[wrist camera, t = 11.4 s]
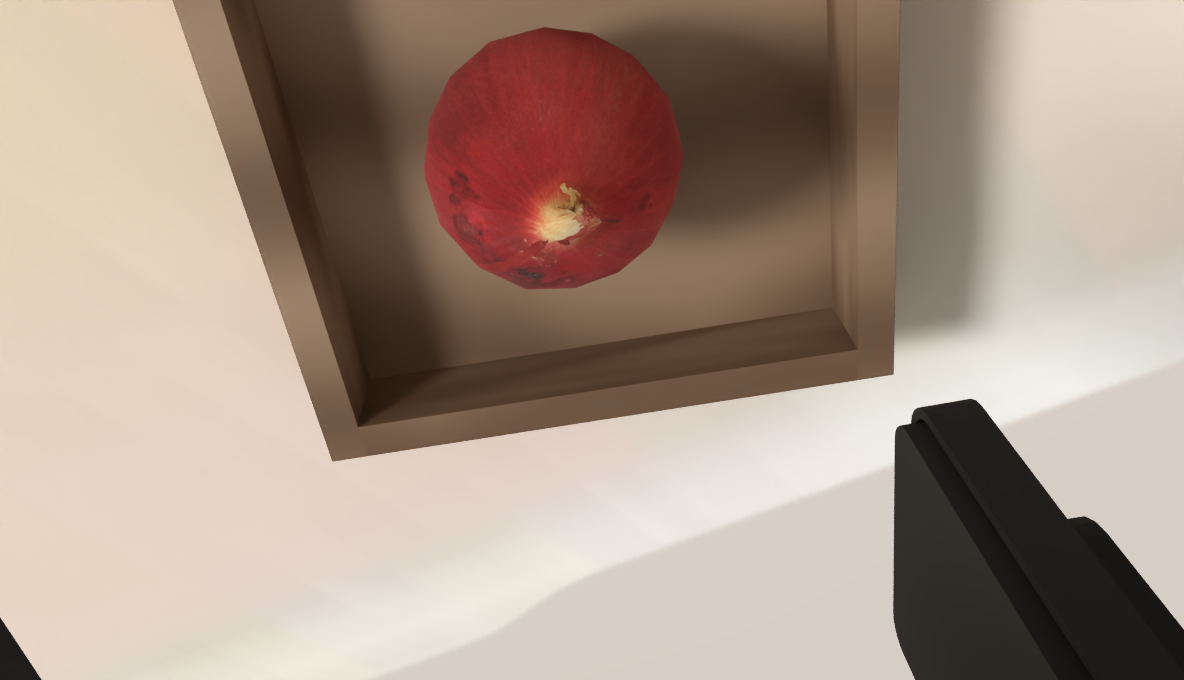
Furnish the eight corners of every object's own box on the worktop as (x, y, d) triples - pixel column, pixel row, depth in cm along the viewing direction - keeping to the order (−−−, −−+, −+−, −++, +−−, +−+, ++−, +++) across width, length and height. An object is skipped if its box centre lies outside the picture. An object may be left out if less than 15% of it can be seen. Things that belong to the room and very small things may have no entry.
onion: (591, 251, 27) (616, 407, 20) (401, 161, 26) (358, 297, 19) (699, 67, 25) (769, 173, 18) (498, -45, 23) (489, 24, 16)
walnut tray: (167, -177, 22) (112, -172, 19) (852, -290, 22) (905, -303, 19) (351, 394, 30) (332, 461, 27) (855, 315, 30) (893, 374, 27)
